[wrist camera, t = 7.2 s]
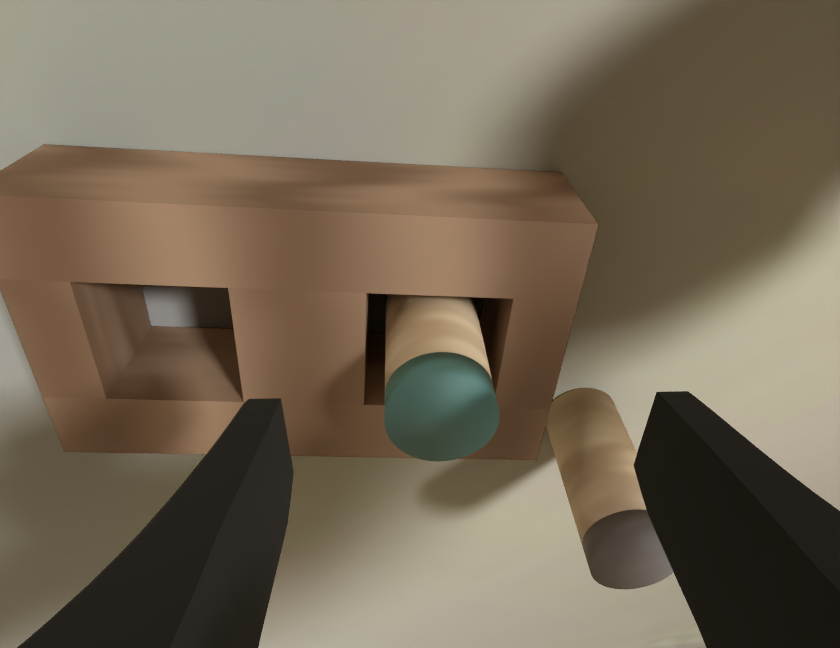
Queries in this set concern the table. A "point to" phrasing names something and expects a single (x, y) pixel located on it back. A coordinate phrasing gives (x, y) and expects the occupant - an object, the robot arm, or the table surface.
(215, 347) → the socket block
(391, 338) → the peg
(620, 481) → the peg
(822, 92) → the table surface
